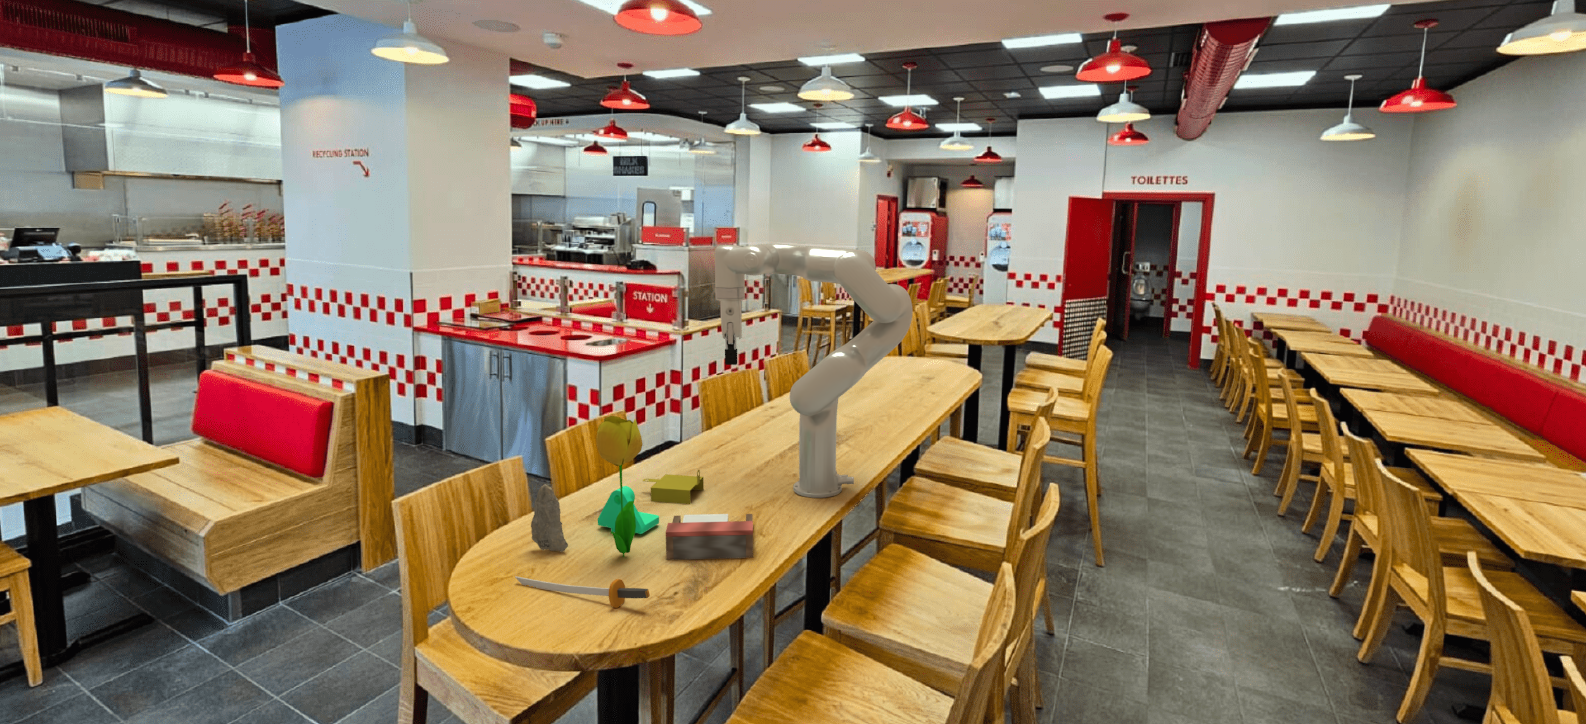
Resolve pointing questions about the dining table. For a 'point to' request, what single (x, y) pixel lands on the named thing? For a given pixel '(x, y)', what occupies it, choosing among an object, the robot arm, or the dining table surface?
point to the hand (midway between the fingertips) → (731, 364)
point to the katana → (592, 590)
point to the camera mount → (614, 507)
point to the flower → (620, 469)
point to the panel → (706, 518)
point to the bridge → (709, 539)
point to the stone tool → (547, 521)
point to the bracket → (675, 488)
